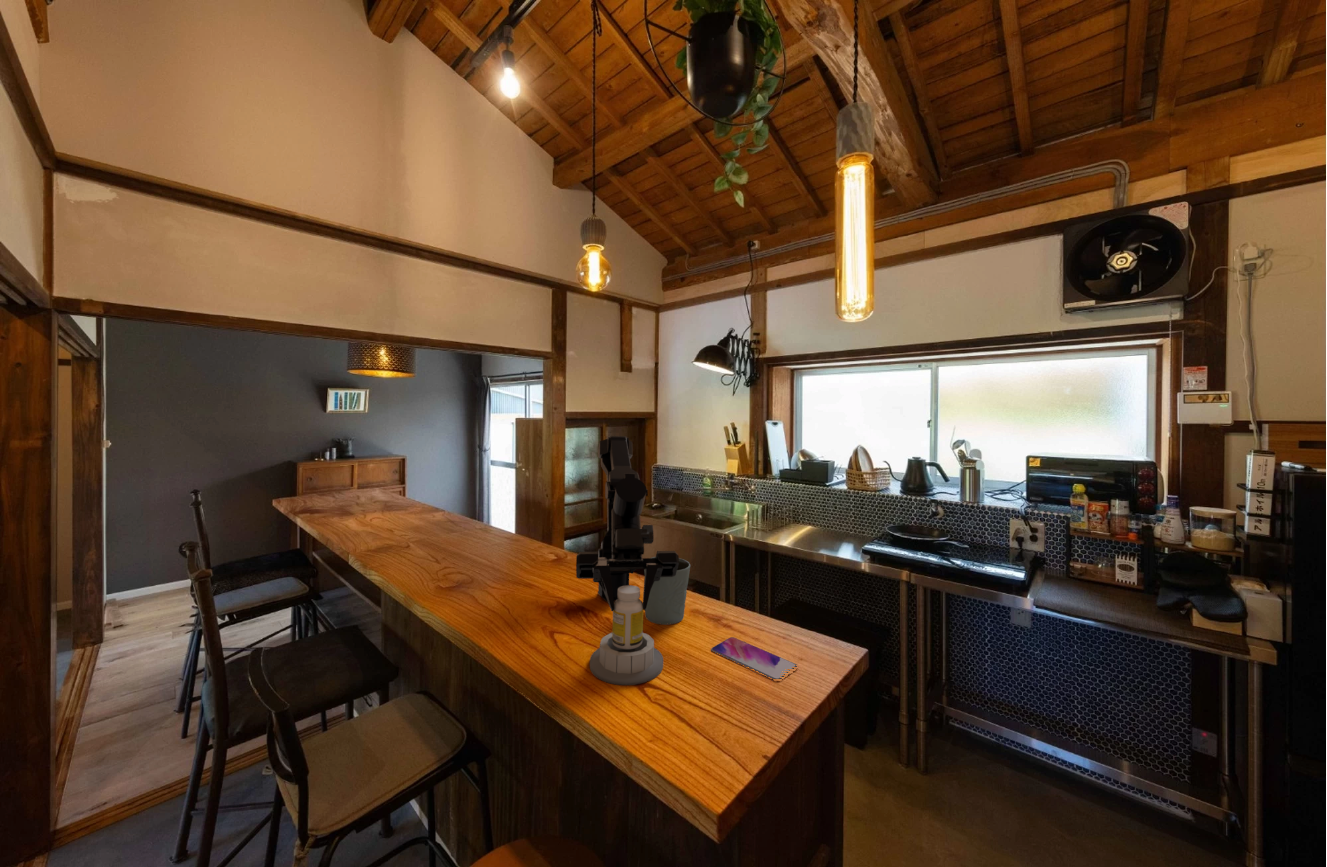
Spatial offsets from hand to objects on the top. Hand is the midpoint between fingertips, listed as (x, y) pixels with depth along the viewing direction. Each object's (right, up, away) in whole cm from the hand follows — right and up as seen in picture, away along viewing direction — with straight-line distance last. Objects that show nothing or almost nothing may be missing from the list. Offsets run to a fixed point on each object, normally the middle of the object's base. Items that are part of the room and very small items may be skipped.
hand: (628, 610), depth 84 cm
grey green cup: (+7, -10, +22) cm, 25 cm away
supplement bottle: (0, -7, +2) cm, 7 cm away
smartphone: (+23, -12, +5) cm, 26 cm away
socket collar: (0, -10, +2) cm, 10 cm away
